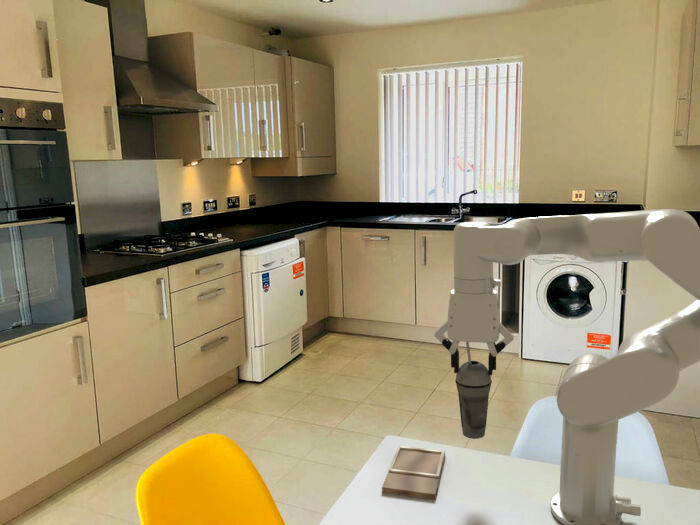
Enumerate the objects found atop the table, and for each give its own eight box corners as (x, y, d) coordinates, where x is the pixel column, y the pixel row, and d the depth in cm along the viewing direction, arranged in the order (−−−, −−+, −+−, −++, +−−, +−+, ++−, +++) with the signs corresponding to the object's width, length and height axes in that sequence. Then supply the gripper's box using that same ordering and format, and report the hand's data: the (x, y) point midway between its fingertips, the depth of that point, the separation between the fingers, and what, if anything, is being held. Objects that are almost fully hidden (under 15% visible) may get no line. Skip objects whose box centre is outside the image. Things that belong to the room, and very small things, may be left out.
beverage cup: (492, 443, 117) (492, 347, 113) (455, 441, 118) (454, 346, 115) (491, 426, 124) (491, 335, 120) (456, 424, 125) (455, 334, 122)
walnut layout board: (445, 457, 135) (445, 450, 134) (435, 499, 119) (435, 492, 118) (398, 451, 138) (398, 445, 138) (382, 492, 122) (382, 485, 121)
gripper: (519, 281, 116) (517, 367, 120) (432, 280, 121) (433, 362, 125) (519, 290, 109) (517, 381, 113) (426, 288, 114) (428, 376, 117)
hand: (473, 371), depth 119 cm, fingers closed on beverage cup, 6 cm apart
